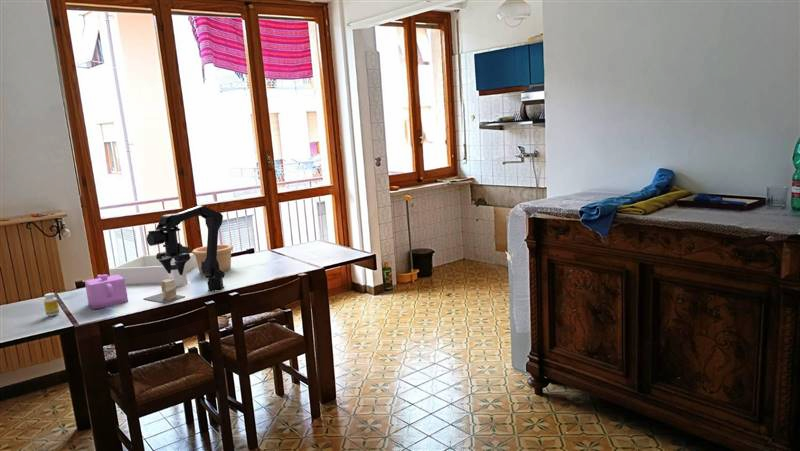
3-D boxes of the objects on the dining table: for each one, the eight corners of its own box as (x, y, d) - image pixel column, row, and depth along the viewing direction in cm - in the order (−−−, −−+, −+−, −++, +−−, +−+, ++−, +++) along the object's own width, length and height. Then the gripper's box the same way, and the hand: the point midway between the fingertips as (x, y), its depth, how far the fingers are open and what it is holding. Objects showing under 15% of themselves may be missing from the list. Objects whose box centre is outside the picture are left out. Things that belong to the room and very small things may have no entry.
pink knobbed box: (118, 294, 296) (114, 267, 294) (130, 303, 276) (126, 275, 274) (85, 301, 287) (81, 274, 285) (95, 311, 267) (90, 282, 265)
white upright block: (166, 286, 305) (163, 264, 303) (179, 282, 312) (176, 261, 310) (177, 287, 300) (174, 265, 298) (190, 283, 307) (187, 262, 305)
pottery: (210, 279, 314) (207, 253, 312) (187, 275, 328) (184, 250, 325) (243, 270, 331) (240, 245, 329) (220, 266, 345) (217, 243, 342)
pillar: (176, 297, 279) (174, 279, 277) (168, 300, 275) (166, 282, 274) (171, 296, 282) (168, 278, 280) (163, 299, 278) (160, 281, 276)
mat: (185, 297, 281) (185, 296, 280) (164, 303, 272) (164, 302, 272) (163, 293, 291) (163, 292, 291) (143, 299, 282) (143, 298, 282)
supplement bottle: (44, 314, 268) (40, 294, 266) (57, 311, 272) (53, 291, 270) (48, 316, 264) (44, 296, 262) (61, 313, 268) (57, 293, 266)
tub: (198, 267, 346) (196, 252, 344) (171, 282, 312) (169, 266, 311) (144, 270, 349) (142, 255, 348) (112, 285, 316) (109, 269, 314)
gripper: (198, 239, 271) (202, 271, 273) (174, 237, 282) (178, 268, 284) (177, 244, 262) (181, 277, 265) (153, 242, 273) (158, 274, 275)
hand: (175, 274), depth 272 cm, fingers open, 9 cm apart
